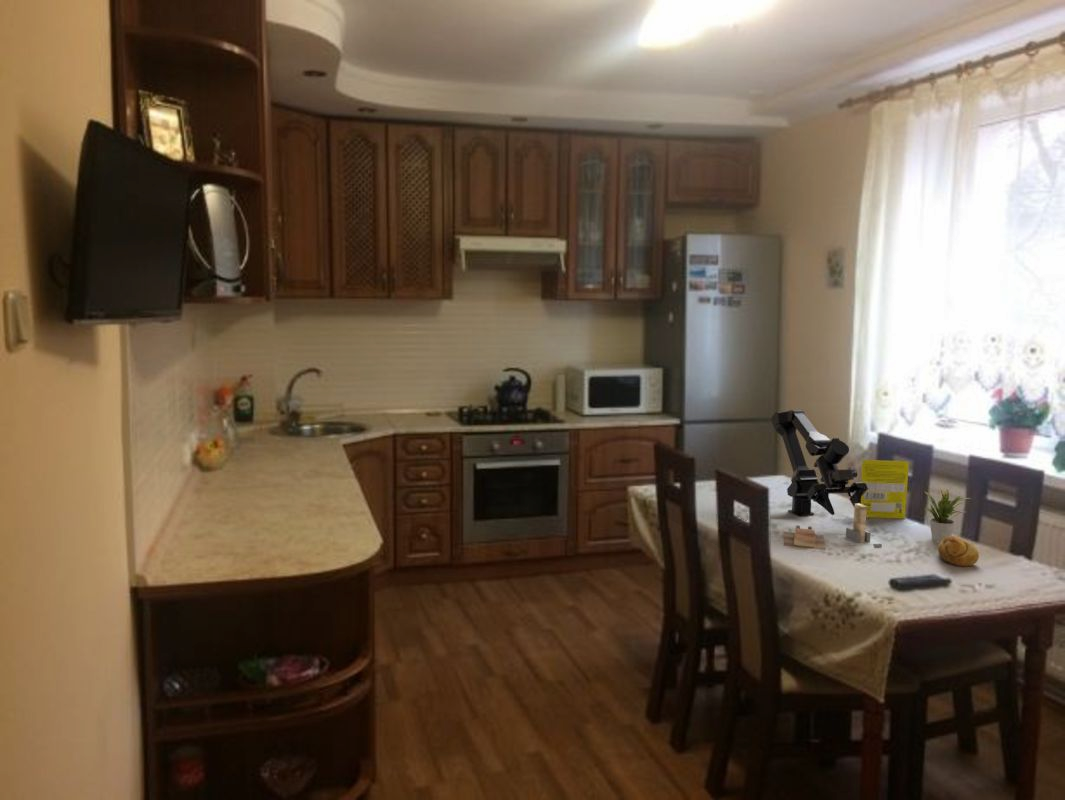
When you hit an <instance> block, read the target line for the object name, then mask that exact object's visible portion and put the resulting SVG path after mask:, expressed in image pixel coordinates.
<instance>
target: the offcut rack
mask: <svg viewBox="0 0 1065 800" xmlns="http://www.w3.org/2000/svg"><path fill="white" fill-rule="evenodd" d="M795 527H796V528H799V529H801V526H800V525H796V526H795ZM796 528H795V529H796ZM807 529H811V530H813V528H812V526H807ZM782 532H783V534H782V535H783V546H784V547H791V548H792V547H795V548H805V549H817V550H824V551H825V550H827V548H826V543H825V538H824V535H822V534H815V539H816V542H815V547H810V546H799V545H794V534H795V533H796V532H790V531H782Z"/></svg>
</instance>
